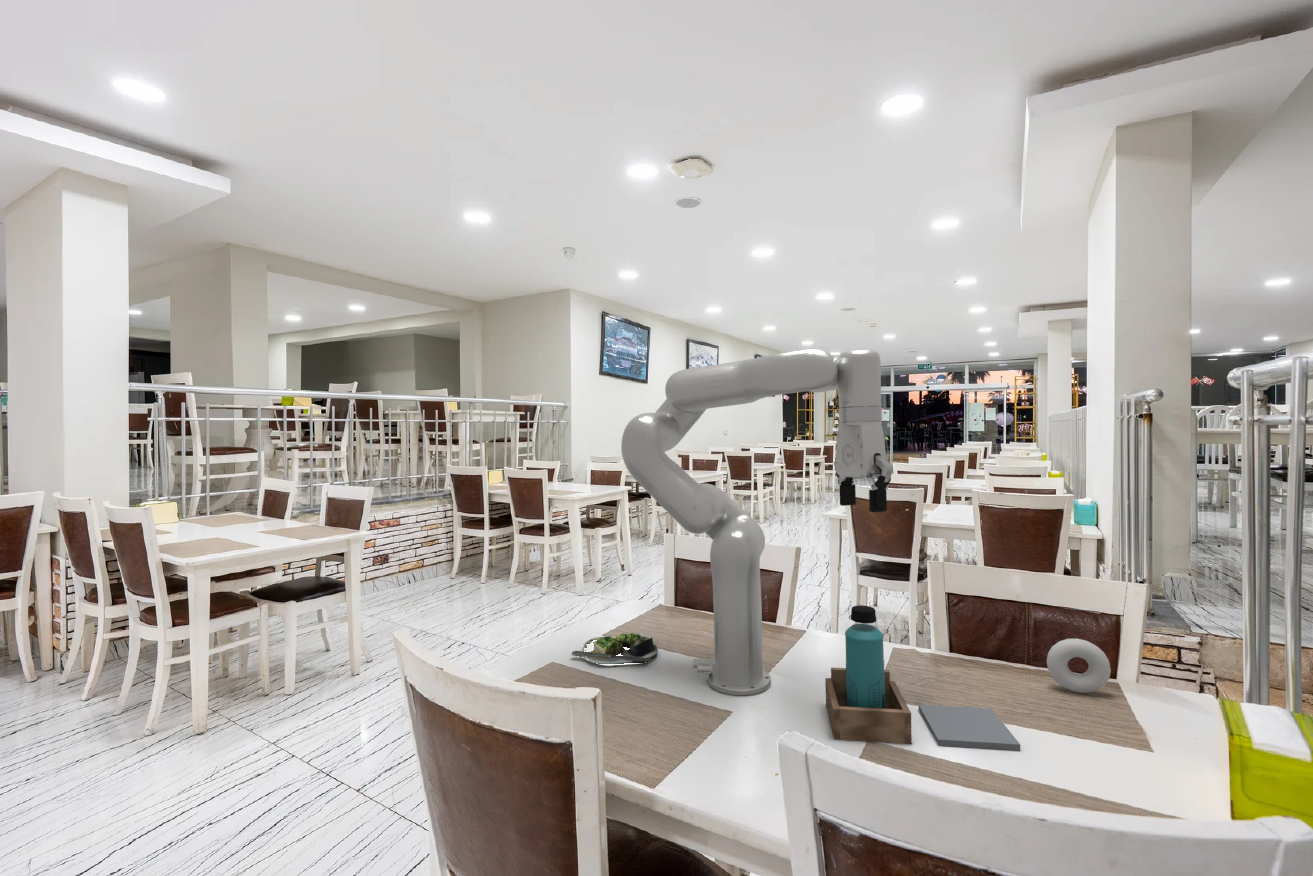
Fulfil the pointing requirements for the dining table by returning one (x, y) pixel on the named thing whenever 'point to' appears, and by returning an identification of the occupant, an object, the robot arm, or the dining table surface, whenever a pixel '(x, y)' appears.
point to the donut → (1072, 681)
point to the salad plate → (620, 649)
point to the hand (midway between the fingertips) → (862, 508)
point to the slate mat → (967, 727)
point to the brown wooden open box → (867, 713)
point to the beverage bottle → (864, 661)
